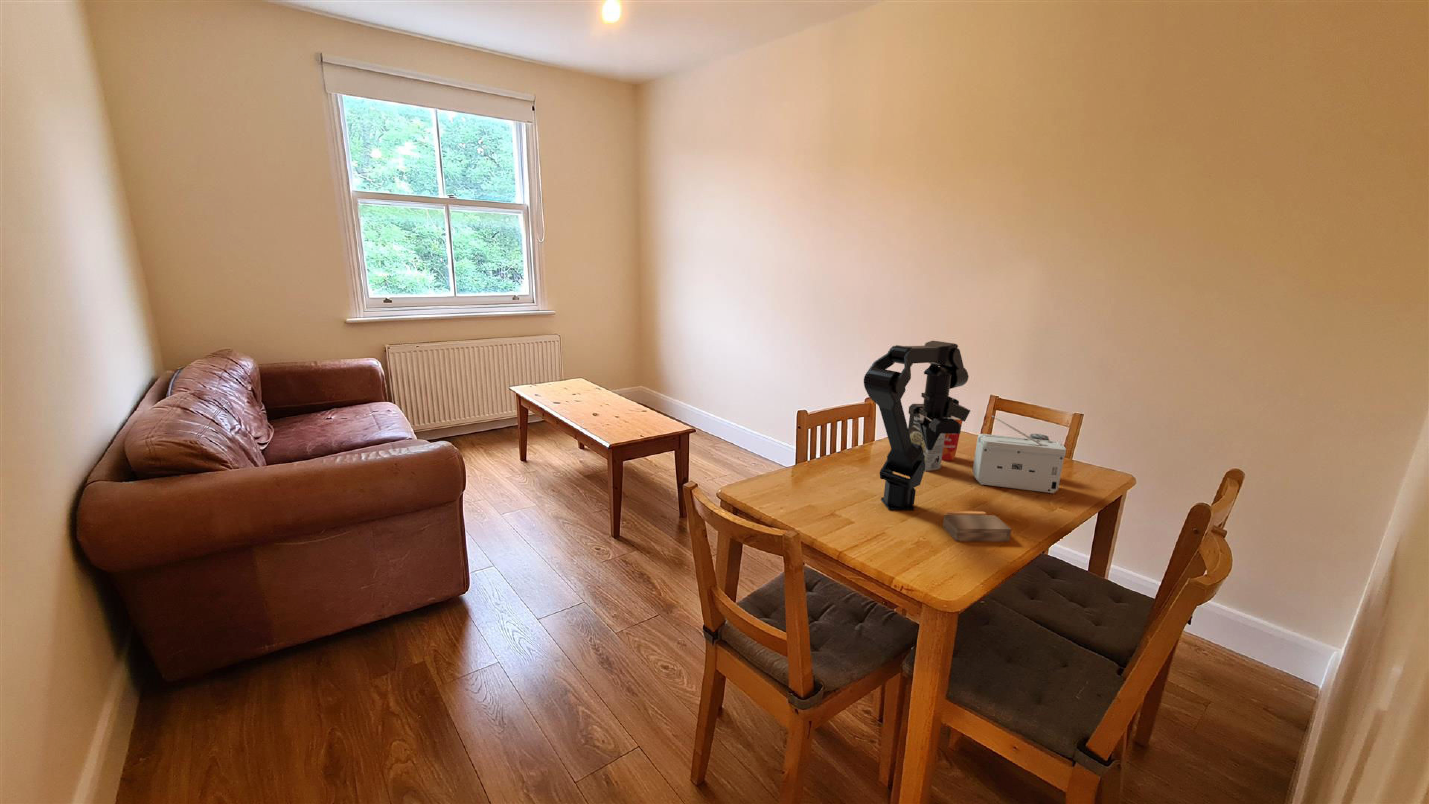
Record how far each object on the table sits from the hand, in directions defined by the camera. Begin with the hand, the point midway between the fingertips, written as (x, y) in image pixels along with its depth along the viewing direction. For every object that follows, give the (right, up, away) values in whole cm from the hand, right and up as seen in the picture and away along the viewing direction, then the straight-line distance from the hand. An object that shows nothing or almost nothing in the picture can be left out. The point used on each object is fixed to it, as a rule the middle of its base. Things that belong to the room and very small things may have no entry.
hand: (929, 449), depth 148 cm
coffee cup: (+16, -5, +31) cm, 36 cm away
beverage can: (+37, -9, +18) cm, 42 cm away
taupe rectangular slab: (+3, -17, -19) cm, 26 cm away
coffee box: (+7, -7, +24) cm, 26 cm away
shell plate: (+3, -17, -17) cm, 25 cm away
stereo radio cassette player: (+27, -11, +10) cm, 31 cm away
